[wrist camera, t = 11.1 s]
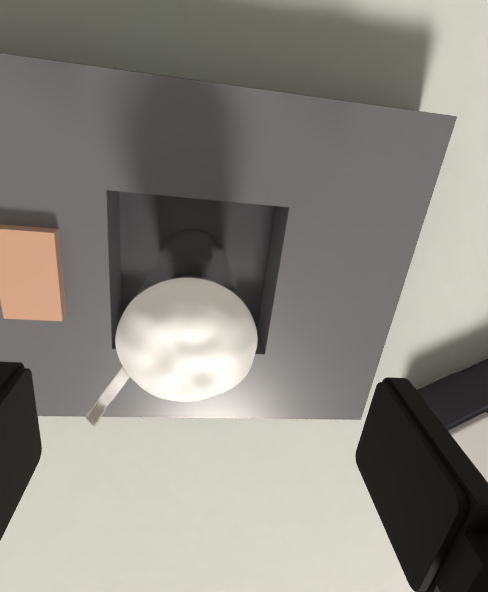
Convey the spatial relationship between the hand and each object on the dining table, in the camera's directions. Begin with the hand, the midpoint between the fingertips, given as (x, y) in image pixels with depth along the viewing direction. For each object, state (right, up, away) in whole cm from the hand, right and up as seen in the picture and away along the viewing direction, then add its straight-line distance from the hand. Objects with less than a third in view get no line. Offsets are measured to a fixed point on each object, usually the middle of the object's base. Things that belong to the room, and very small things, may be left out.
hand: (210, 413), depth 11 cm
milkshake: (-2, +5, +9) cm, 11 cm away
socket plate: (-2, +5, +10) cm, 11 cm away
